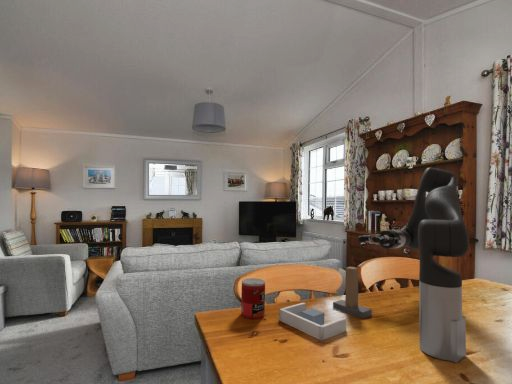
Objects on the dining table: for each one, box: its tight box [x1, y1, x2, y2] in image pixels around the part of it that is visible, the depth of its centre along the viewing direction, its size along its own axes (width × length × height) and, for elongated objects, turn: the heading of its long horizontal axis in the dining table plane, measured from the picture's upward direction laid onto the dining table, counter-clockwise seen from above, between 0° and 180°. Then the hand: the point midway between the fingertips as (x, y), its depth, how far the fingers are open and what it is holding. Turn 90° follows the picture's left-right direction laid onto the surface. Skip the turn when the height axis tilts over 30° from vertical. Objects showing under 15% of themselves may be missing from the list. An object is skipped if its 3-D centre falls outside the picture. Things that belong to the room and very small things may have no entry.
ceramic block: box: [300, 307, 325, 325], centre depth 90 cm, size 5×5×4 cm
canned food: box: [240, 277, 266, 320], centre depth 97 cm, size 8×8×11 cm
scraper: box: [332, 266, 373, 319], centre depth 102 cm, size 12×5×15 cm, turn 37°
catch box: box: [278, 302, 347, 342], centre depth 89 cm, size 17×11×4 cm, turn 37°
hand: (369, 240), depth 109 cm, fingers open, 8 cm apart
